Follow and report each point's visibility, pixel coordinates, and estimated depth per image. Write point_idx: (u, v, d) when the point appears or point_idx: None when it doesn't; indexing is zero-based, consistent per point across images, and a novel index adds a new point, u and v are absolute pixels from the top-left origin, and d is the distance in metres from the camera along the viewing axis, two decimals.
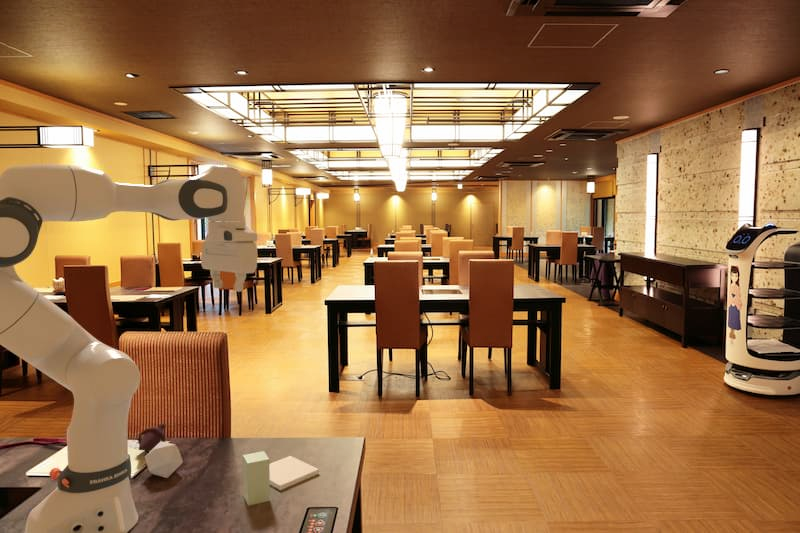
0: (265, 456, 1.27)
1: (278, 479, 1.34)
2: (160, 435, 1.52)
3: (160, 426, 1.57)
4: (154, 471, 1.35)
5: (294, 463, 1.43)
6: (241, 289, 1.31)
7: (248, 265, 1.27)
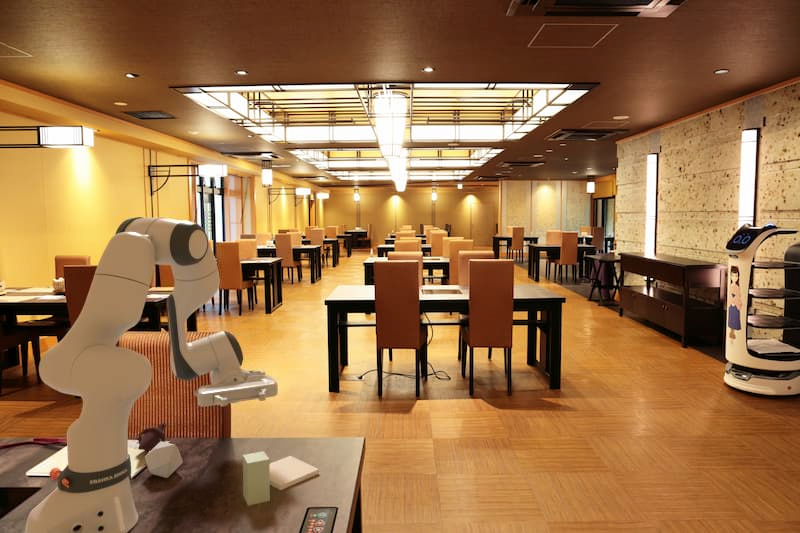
0: (265, 456, 1.27)
1: (278, 479, 1.34)
2: (160, 435, 1.52)
3: (160, 426, 1.58)
4: (154, 471, 1.35)
5: (294, 463, 1.43)
6: None
7: None
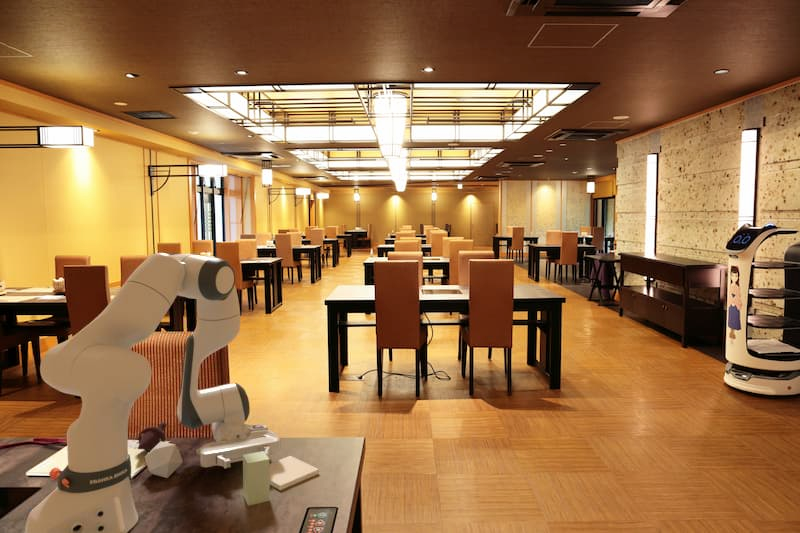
0: (265, 456, 1.27)
1: (278, 479, 1.34)
2: (160, 434, 1.53)
3: (160, 425, 1.58)
4: (154, 471, 1.35)
5: (294, 463, 1.43)
6: None
7: None
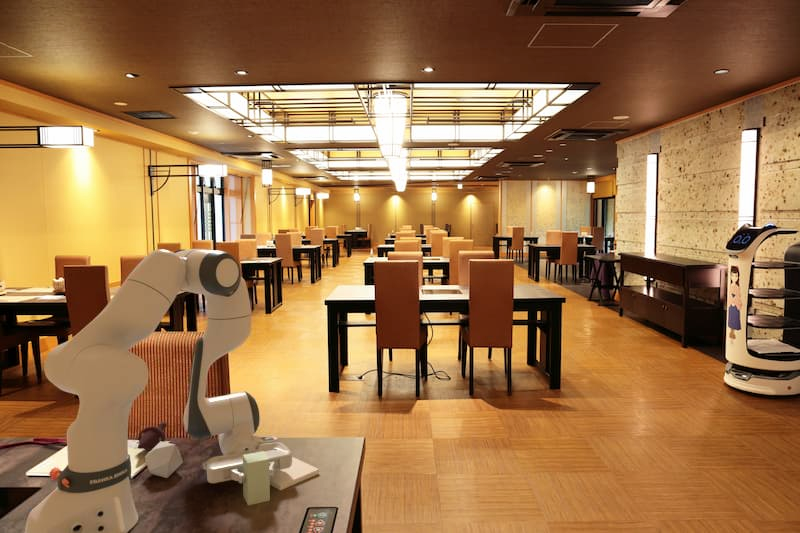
0: (265, 456, 1.27)
1: (278, 479, 1.34)
2: (160, 434, 1.53)
3: (161, 425, 1.58)
4: (154, 471, 1.35)
5: (294, 463, 1.43)
6: None
7: None
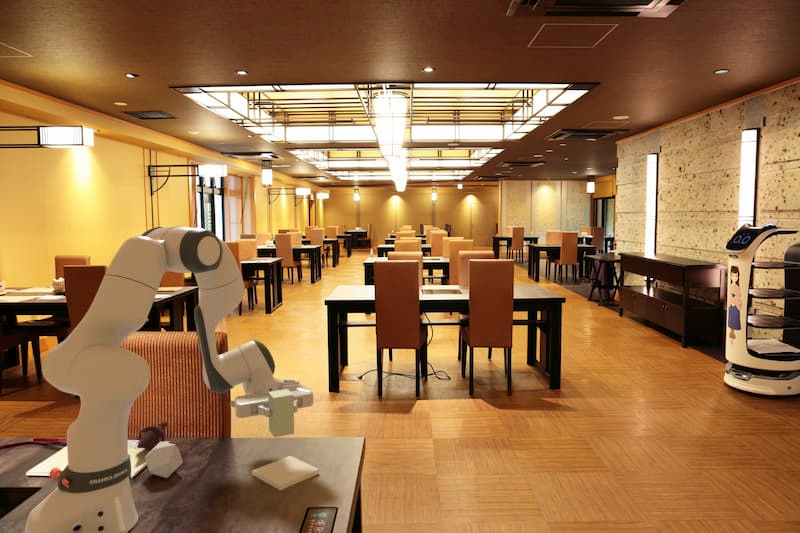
0: (289, 392, 1.36)
1: (278, 479, 1.34)
2: (159, 433, 1.53)
3: (161, 424, 1.59)
4: (154, 471, 1.35)
5: (294, 463, 1.43)
6: (296, 410, 1.38)
7: None
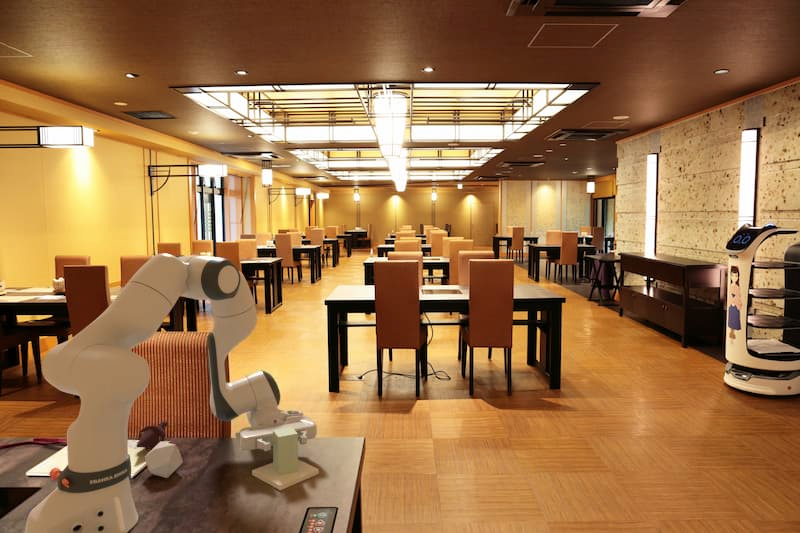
0: (293, 431, 1.39)
1: (278, 479, 1.34)
2: (159, 433, 1.54)
3: (161, 424, 1.59)
4: (154, 471, 1.35)
5: None
6: None
7: None
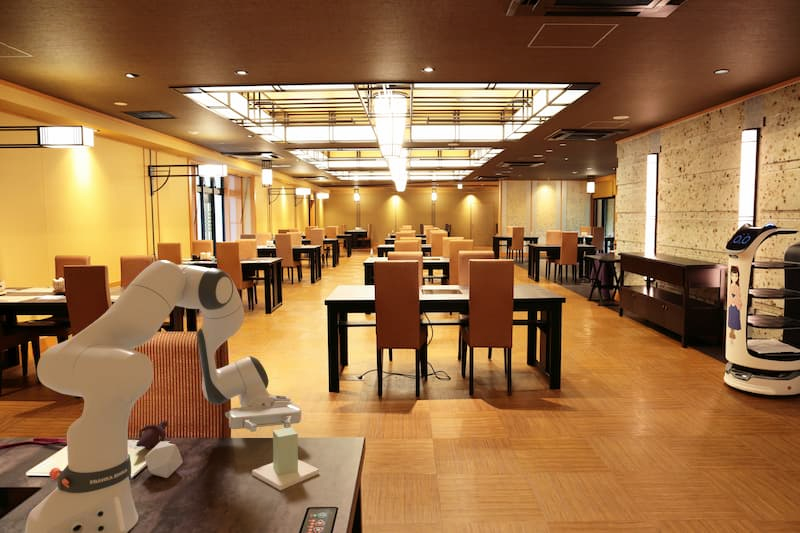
0: (293, 431, 1.39)
1: (278, 479, 1.34)
2: (159, 432, 1.54)
3: (162, 423, 1.60)
4: (154, 471, 1.35)
5: None
6: None
7: None
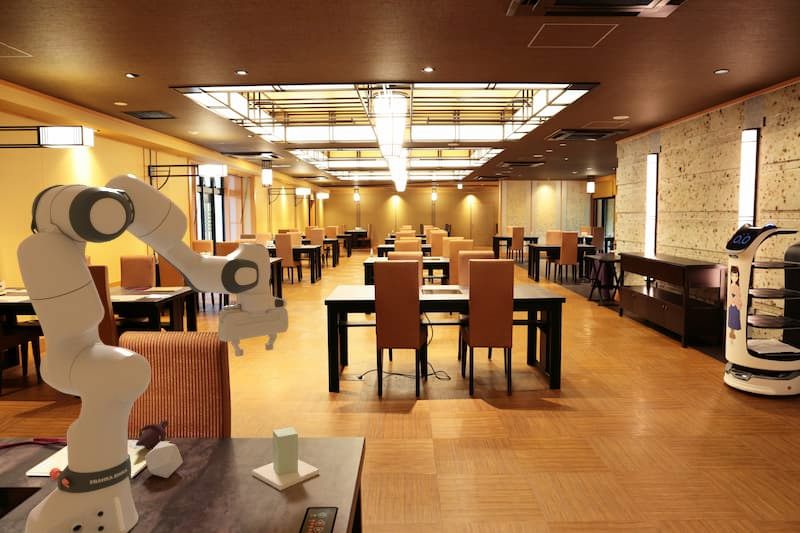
0: (293, 431, 1.39)
1: (278, 479, 1.34)
2: (159, 432, 1.54)
3: (162, 423, 1.60)
4: (154, 471, 1.35)
5: None
6: None
7: None
